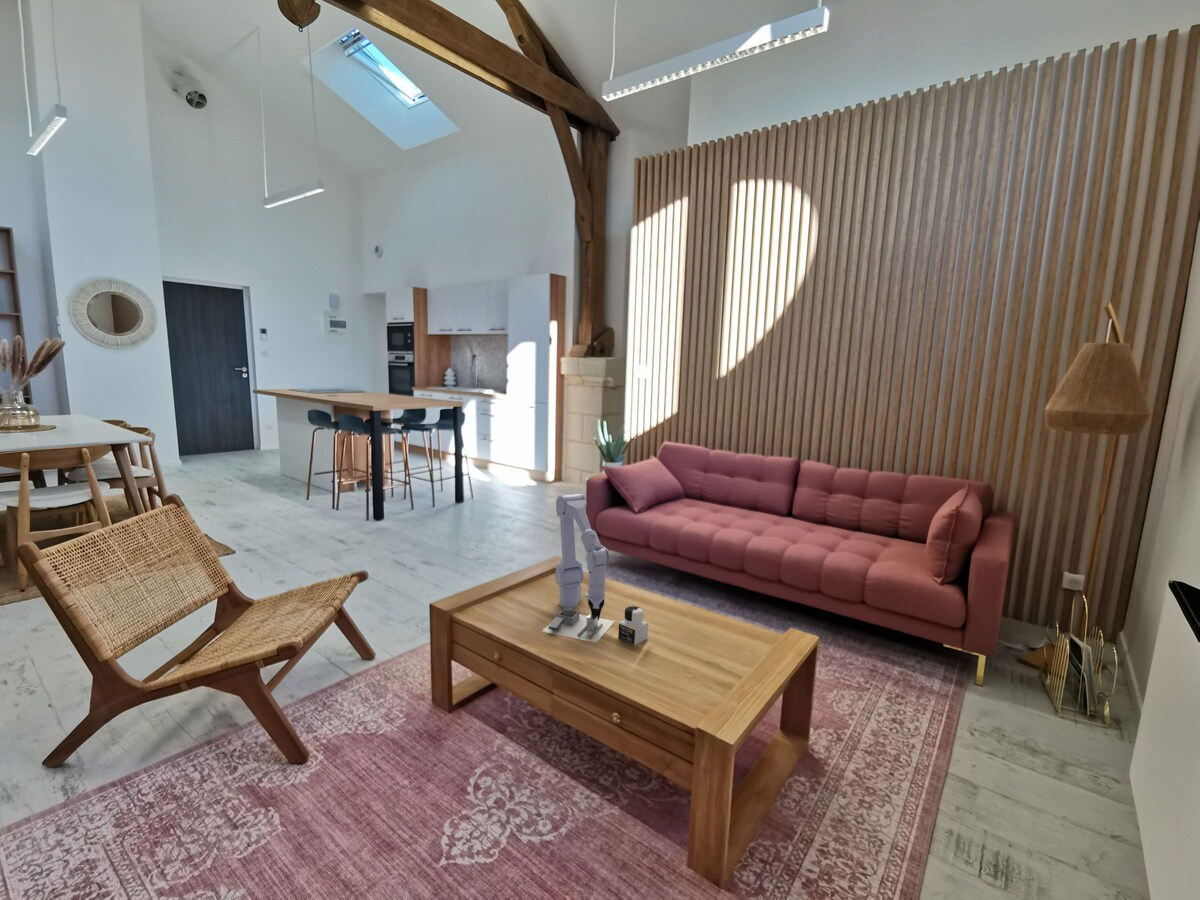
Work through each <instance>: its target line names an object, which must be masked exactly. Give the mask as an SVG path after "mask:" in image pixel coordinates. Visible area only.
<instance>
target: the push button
mask: <svg viewBox="0 0 1200 900" xmlns="http://www.w3.org/2000/svg"><path fill="white" fill-rule="evenodd" d="M562 610H563V615H564V616H569V617H573V616H574V610H575V607H573V608H571V607H566V608H565V607H562Z"/></svg>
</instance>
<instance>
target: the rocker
mask: <svg viewBox="0 0 1200 900" xmlns="http://www.w3.org/2000/svg"><path fill="white" fill-rule="evenodd" d="M563 621H564V618H560V617H557V616H555V617H554V619H553V620H552V621H551V622H550V623H551V624H550V623H549V624H550V625H549V624H548V625H549V626H548V625H547V626H548V627H549V629H551V630H556V631H557V629H558V628H559V627H560V625H561V624H562V623H563Z"/></svg>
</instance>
